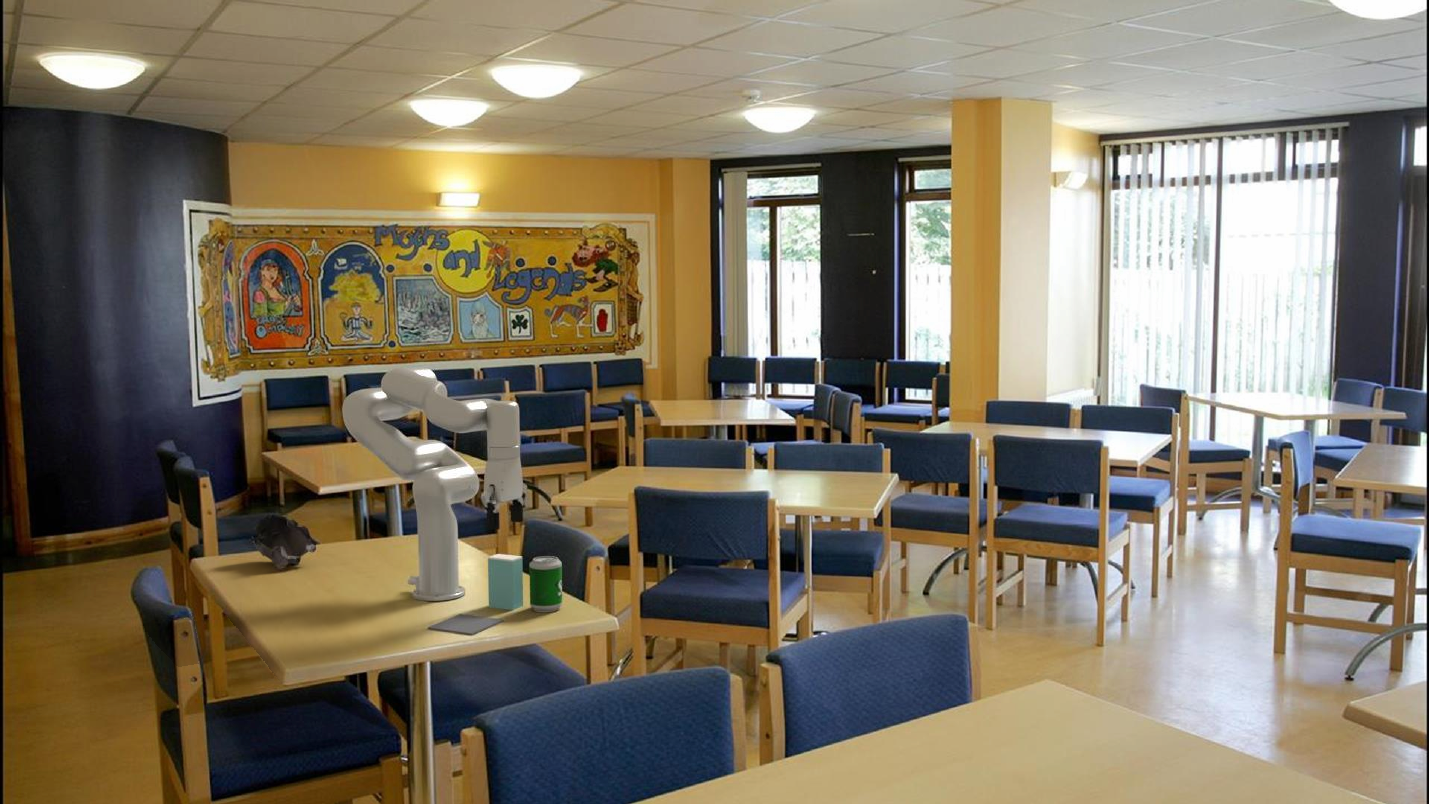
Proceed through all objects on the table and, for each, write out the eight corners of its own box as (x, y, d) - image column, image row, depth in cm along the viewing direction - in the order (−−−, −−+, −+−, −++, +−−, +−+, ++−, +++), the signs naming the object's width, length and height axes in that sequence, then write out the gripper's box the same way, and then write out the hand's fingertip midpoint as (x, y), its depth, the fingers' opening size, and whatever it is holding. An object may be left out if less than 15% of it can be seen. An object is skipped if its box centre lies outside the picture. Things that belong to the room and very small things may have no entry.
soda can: (555, 614, 264) (555, 563, 263) (525, 612, 266) (524, 561, 265) (566, 605, 272) (566, 556, 271) (536, 603, 273) (536, 554, 272)
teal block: (488, 606, 271) (487, 557, 269) (498, 602, 274) (497, 553, 273) (513, 610, 268) (512, 559, 267) (523, 606, 271) (522, 556, 270)
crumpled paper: (325, 562, 314) (286, 556, 326) (318, 510, 312) (278, 506, 325) (279, 576, 303) (240, 569, 316) (271, 523, 301) (232, 518, 314)
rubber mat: (427, 628, 252) (427, 627, 252) (460, 615, 263) (460, 613, 263) (472, 635, 247) (472, 633, 247) (504, 621, 258) (504, 619, 258)
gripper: (511, 448, 277) (512, 518, 279) (468, 457, 261) (470, 530, 263) (537, 450, 274) (538, 520, 276) (495, 458, 258) (497, 533, 260)
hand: (505, 525), depth 269 cm, fingers open, 9 cm apart
